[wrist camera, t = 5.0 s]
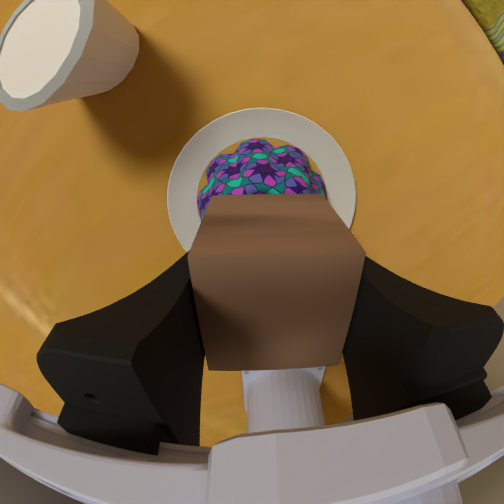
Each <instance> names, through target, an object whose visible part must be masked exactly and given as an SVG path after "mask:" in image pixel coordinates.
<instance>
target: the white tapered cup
mask: <svg viewBox="0 0 504 504" xmlns="http://www.w3.org/2000/svg"><path fill="white" fill-rule="evenodd" d="M138 54H139V35H138V33H137V31H136V29H135V27H134V26H133V24H132V23H131V22H130V21H128V20H127V19H126V18H125V17H124V16H123V15H122V14H121V13H120V12H119V11H118V10H116V9H115V8H114V7H113V6H112V5H111V4H110V3H109V2H107V1H106V0H25V1H24V2H23V3H22V4H21V5H20V6H19V7H18V8H17V9H16V10H15V11H14V13H13V14H12V16H11V17H10V19H9V21H8V22H7V24H6V26H5V28H4V29H3V31H2V33H1V35H0V102H1V103H2V104H3V105H4V106H5V107H6V108H7V109H8V110H13V111H21V112H26V111H29V110H32V109H36V108H39V107H43V106H46V105H50V104H54V103H58V102H62V101H67V100H71V99H76V98H81V97H86V96H91V95H96V94H100V93H103V92H107V91H110V90H111V89H112V88H114V87H115V86H116V85H118V84H119V83H121V82H122V81H123V80H124V79H125V77H126V76H127V75H128V74H129V72H130V71H131V70H132V68H133V67H134V64H135V61H136V59H137V56H138Z"/></svg>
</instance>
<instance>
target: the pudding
mask: <svg viewBox="0 0 504 504" xmlns="http://www.w3.org/2000/svg"><path fill="white" fill-rule="evenodd" d="M256 137H269V138H276V139H280V140H283V141H286V142H289V143H291V144H293V145H295V146H297V147H299V148H300V149H301V150H303V151H304V152H305V153H306V154H308V155H309V156H310V157H311V159H312V160H313V161H314V162H315V163H316V165H317V166H318V168H319V170H320V171H321V173H322V176H323V178H324V181H325V184H326V191H327V201H328V202H329V203H330V205H331V206H332V207H333V209H334V210H335V211H336V213H337V214H338V215H339V216H340V218H341V219H342V220H343V222H344V223H345V224H346V226H347V227H348V228H349V229H350V226H351V224H352V220H353V216H354V212H355V204H356V189H355V180H354V176H353V173H352V170H351V167H350V163H349V162H348V160H347V158H346V156H345V154H344V152H343V150H342V149H341V147H340V146H339V145H338V144H337V142H336V141H335V140H334V139H333V138H332V136H331V135H330V134H328V133H327V132H326V131H325V130H324V129H322V128H321V127H320V126H319V125H318V124H316V123H314V122H312V121H311V120H309V119H307V118H305V117H303V116H301V115H298V114H295V113H292V112H289V111H286V110H281V109H274V108H248V109H244V110H239V111H235V112H232V113H228V114H226V115H224V116H222V117H220V118H217V119H215V120H213V121H212V122H210V123H209V124H207V125H206V126H205V127H203V128H202V129H200V130H199V131H198V132H197V133H196V134H195V135H194V136H193V137H192V138H191V139H190V140H189V141H188V142H187V143H186V144H185V146H184V148H183V149H182V151H181V152H180V154H179V155H178V157H177V159H176V161H175V163H174V166H173V168H172V171H171V173H170V178H169V183H168V189H167V207H168V213H169V218H170V222H171V225H172V227H173V230H174V232H175V235H176V237H177V238H178V240H179V242H180V243H181V245H182V247H183V248H184V249H185V251H186V252H188V251H189V250H190V249H191V246H192V244H193V241H194V238H195V236H196V233H197V231H198V228H199V226H200V224H201V221H202V219H203V216H204V214H205V211H206V209H207V207H208V204H209V202H210V199H211V197H212V196H217V195H246V194H322V195H323V196H324V197H325V184H324V182H323V180H322V178H321V176H320V175H319V174H317V173H315V172H313V171H311V170H309V166H308V160H307V157H306V155H305V154H304V153H303V152H302V151H301V150H299V149H298V148H295V147H293V146H290V145H284V146H280V147H276V148H275V147H273V146H272V145H271V144H270V143H268V142H267V141H266V140H262V139H251V140H248V141H246V142H243V143H241V144H240V146H239V147H238V149H237V150H236V151H235V153H234V154H221V155H219V156H218V157H217V158H216V159H214V160H213V161H212V162H211V163H210V165H209V167H208V169H207V171H206V174H207V181H208V185H206V186H205V187H204V188H203V189H202V190H201V191H200V192H199V196H198V202H197V203H198V208H199V213H200V218H201V221H200V218H199V215H198V210H197V203H196V201H197V189H198V185H199V181H200V178H201V176H202V174H203V171H204V170H205V168H206V167H207V165H208V164H209V162H210V161H211V160H212V159H213V158H214V157H215V156H216V155H217V154H218V153H219V152H220V151H222V150H223V149H225V148H226V147H228V146H229V145H232V144H234V143H236V142H238V141H241V140H245V139H249V138H256ZM325 198H326V197H325Z"/></svg>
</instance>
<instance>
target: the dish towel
mask: <svg viewBox="0 0 504 504" xmlns="http://www.w3.org/2000/svg"><path fill="white" fill-rule="evenodd" d="M462 1H463V2H464V4H465V5H466V6H467V7H468V9H469V10H470V12H471V13H472V15H473V16H474V17H475V19H476V20H477V22H478V23H479V25H480V26H481V27H482V29H483V30H484V32H485V34H486V35H487V37H488V39H489V41H490V42H491V44H492V45H493V47H494V49H495V50H496V52H497V53H498V55H499V57H500V59H501V61H502V62H503V64H504V0H462Z"/></svg>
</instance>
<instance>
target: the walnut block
mask: <svg viewBox="0 0 504 504" xmlns="http://www.w3.org/2000/svg"><path fill="white" fill-rule="evenodd" d="M365 254H366V252H365V251H364V249H363V248H362V246H361V245H360V244H359V242H358V241H357V239H356V238H355V237H354V235H353V234H352V233H351V231H350V230H349V228H348V227H347V226H346V224H345V223H344V222H343V220H342V219H341V218H340V216H339V215H338V214H337V213H336V211H335V210H334V209H333V207H332V206H331V205H330V203H329V202H328V201H327V200H326V198H325V197H324V196H323V195H322V194H246V195H217V196H212V197H211V199H210V202H209V204H208V207H207V209H206V211H205V214H204V216H203V219H202V221H201V224H200V226H199V228H198V231H197V233H196V236H195V238H194V241H193V244H192V246H191V249H190V251H189V254H188V256H187V257H188V264H189V270H190V276H191V282H192V288H193V294H194V300H195V305H196V311H197V316H198V321H199V326H200V331H201V336H202V341H203V346H204V351H205V355H206V360H207V365H208V369H209V370H216V371H255V370H283V369H299V368H313V367H324V366H333V365H338V363H339V360H340V357H341V354H342V350H343V347H344V343H345V340H346V336H347V333H348V329H349V325H350V321H351V317H352V314H353V310H354V305H355V301H356V297H357V293H358V288H359V284H360V279H361V274H362V269H363V264H364V259H365Z"/></svg>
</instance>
